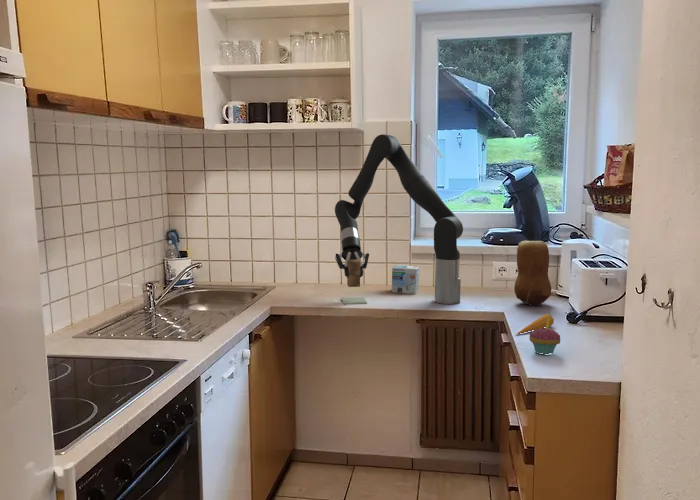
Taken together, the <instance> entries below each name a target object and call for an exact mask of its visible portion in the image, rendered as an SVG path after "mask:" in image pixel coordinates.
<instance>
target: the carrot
mask: <svg viewBox="0 0 700 500" xmlns="http://www.w3.org/2000/svg"><path fill="white" fill-rule="evenodd" d="M547 315H548V314H543V315H541V316H539V317H538V318H537V319H536V320H534V321H532V322H531V323H529V324H528V325H526V326H524V328H522V329H521V330H519V331H518V332H517V333H516V334H520V333H524V332H528V331H532V330H536V329H538V328H544V327H546V324H547ZM554 320H555V319H554V317H553V316H552V315H551V314H550V319H549V326H550V327H552V326H553V325H554V324H555V323H554V322H555V321H554Z"/></svg>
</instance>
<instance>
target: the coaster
mask: <svg viewBox="0 0 700 500" xmlns="http://www.w3.org/2000/svg"><path fill="white" fill-rule="evenodd" d="M340 300H341V301H342V303H343V305H362V304H363V305H367V304H368V301H367V300H366V299H365V297H364V296H355V297H354V296H353V297H341V299H340Z"/></svg>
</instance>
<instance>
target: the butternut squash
mask: <svg viewBox="0 0 700 500" xmlns="http://www.w3.org/2000/svg"><path fill="white" fill-rule="evenodd" d="M516 266H517V272H518V273H517V276H516V278H515V281H514V294H515V297H516V299H518V300H520V301H521V302H522V303H524V304H525V305H529V304H531V305H530V306H532V305H537V306H540V305H542V304H544V303H545V302H546V301H548V300H549V298H550V296H551V295H552V283H551V281H550V277H549V266H550V252H549V247H548V244H547V243H546V241H545V242H544V241H543V240H522V241H520V242H518V245H517V249H516Z"/></svg>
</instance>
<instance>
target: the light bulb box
mask: <svg viewBox="0 0 700 500" xmlns="http://www.w3.org/2000/svg"><path fill="white" fill-rule="evenodd" d="M419 292H420V266H418V265H402V264H401V265H400V264H399V265H394V266H392V268H391V293H396V294H399V293H400V294H409V295H416V294H417V293H419Z"/></svg>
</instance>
